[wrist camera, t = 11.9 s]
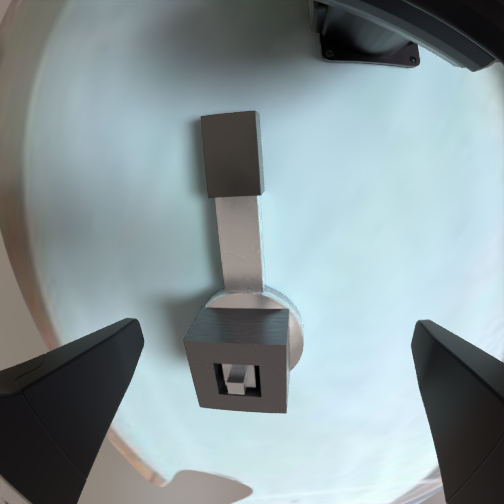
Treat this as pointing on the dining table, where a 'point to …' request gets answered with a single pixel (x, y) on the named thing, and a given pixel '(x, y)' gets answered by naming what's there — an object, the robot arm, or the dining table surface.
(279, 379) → the socket
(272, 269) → the dining table surface
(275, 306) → the ratchet
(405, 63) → the robot arm
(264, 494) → the dining table surface
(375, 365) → the dining table surface
